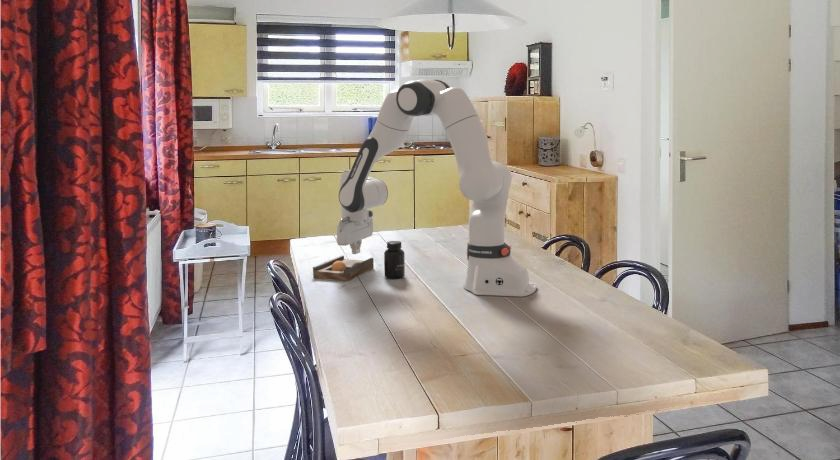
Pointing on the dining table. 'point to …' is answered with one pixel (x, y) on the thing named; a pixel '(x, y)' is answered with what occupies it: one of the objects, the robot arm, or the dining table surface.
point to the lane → (351, 271)
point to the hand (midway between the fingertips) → (356, 253)
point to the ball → (338, 266)
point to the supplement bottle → (394, 260)
